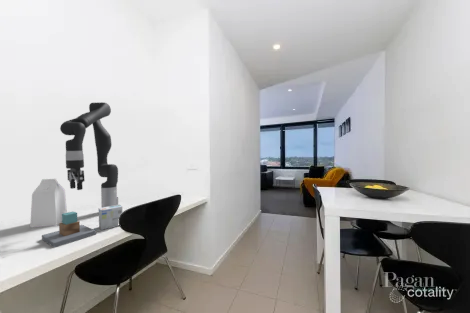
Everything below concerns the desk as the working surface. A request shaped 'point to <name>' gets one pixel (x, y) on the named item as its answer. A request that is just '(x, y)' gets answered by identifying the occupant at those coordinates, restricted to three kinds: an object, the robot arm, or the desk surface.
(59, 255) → the desk surface
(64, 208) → the milk
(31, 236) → the desk surface
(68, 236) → the slate gray board
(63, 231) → the walnut block
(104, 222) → the light bulb box
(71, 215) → the teal block
